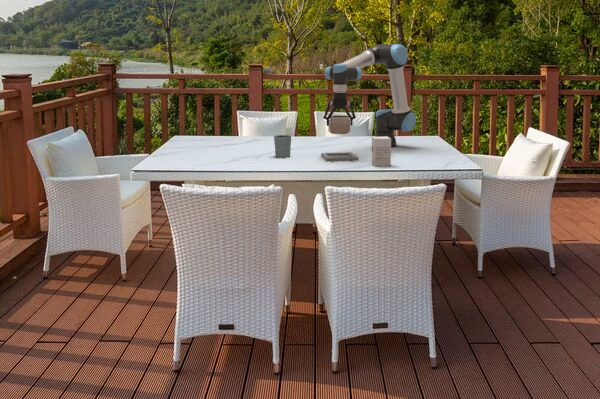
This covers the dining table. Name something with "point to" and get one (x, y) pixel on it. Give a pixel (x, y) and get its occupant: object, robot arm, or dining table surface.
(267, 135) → the dining table surface
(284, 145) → the grey cup
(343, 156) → the grey tray
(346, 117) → the planter
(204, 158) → the dining table surface
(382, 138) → the supplement box
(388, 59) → the robot arm
